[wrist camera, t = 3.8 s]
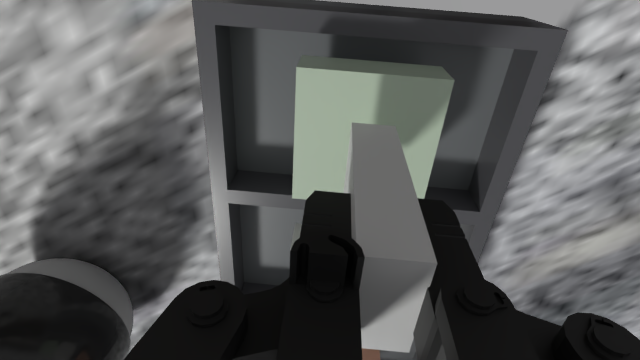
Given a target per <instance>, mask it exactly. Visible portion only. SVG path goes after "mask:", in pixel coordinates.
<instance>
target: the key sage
mask: <svg viewBox="0 0 640 360" xmlns="http://www.w3.org/2000/svg"><path fill="white" fill-rule="evenodd" d="M454 81H455V80H454V79H453V78H452V77H451V76H450V75H449V74H448V73H447V72H446V71H445V69H444V68H443V67H442V66H430V65H418V64H406V63H393V62H381V61H369V60H357V59H344V58H332V57H320V56H308V55H302V56H301V58H300V60H299V62H298V65H297V67H296V92H295V123H294V154H293V185H292V198H294V199H306V200H307V198H308V197H309V196H310V195H311V194H312V193H313V192H314V191H315V190H316V191H327V192H338V193H344V182H345V174H346V165H347V157H348V149H349V140H350V132H351V123H364V124H376V125H388V126H396V129H397V133H398V136H399V139H400V142H401V146H402V149H403V152H404V156H405V159H406V162H407V165H408V169H409V172H410V175H411V178H412V182H413V185H414V188H415V192H416V195H417V198H421V199H424V197H425V194H426V190H427V186H428V182H429V178H430V174H431V170H432V166H433V162H434V158H435V155H436V151H437V147H438V143H439V139H440V135H441V131H442V127H443V123H444V119H445V116H446V112H447V108H448V104H449V100H450V96H451V92H452V88H453V84H454Z"/></svg>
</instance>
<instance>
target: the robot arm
mask: <svg viewBox="0 0 640 360" xmlns="http://www.w3.org/2000/svg"><path fill="white" fill-rule="evenodd" d="M413 339H414V341H415V347H416V352H417V360H640V340H639V339H638V338H637V337H635V336H634V335H633V334H632V333H630V332H629V331H628V330H627V329H625V328H624V327H622V326H620V325H618V324H617V323H615V322H613V321H611V320H609V319H607V318H604V317H601V316H598V315H595V314H592V313H576V314H573V315H570V316H568V317H567V319H566V320H565V322H564V324H563V325H562V326H559V325H556V324H553V323H551V322H548V321H545V320H542V319H539V318H536V317H533V316H530V315H527V314H525V313H522V312H520V311H518V310H516V309H515V308H514V306H513V304H512V302H511V301H510V300H509V298H508V297H507V296H506V294H505V293H504V292H503V291H501V290H500V289H499V288H498V287H496V286H495V285H494V284H492V283H490V282H488V281H486V280H484V278H483V275H482V273H481V271H480V268H479V266H478V264H477V262H476V259H475V257H474V255H473V252H472V250H471V248H470V246H469V243H468V241H467V239H465V234H464V232H463V230H462V228H460V223H459V220H458V218H457V216H456V214H455V212H454V211H453V210H452V209H451V208H450V207H449V206H448V205H447V204H446V203H445V202H444V201H443V200H432V199H421V198H417V195H416V192H415V188H414V185H413V182H412V178H411V175H410V172H409V169H408V165H407V162H406V159H405V156H404V152H403V149H402V146H401V142H400V139H399V136H398V133H397V129H396V126H388V125H376V124H364V123H351V132H350V140H349V149H348V157H347V165H346V174H345V182H344V193H338V192H327V191H316V190H315V191H314V192H313V193H312V194H311V195H310V196H309V197H308V198H307V200H306V202H305V208H304V215H303V220H302V226H301V232H300V238H299V239H297V240H296V241H295V242H294V244H293V246H292V248H291V250H290V272H289V278H288V279H287V280H285V281H284V282H283V283H282V284H280V285H278V286H276V287H274V288H272V289H269V290H265V291H262V292H256V293H250V294H245V295H244V294H243V293H242V292H241V290H240V289H239V288H238V287H237V286H235V285H233V284H231V283H229V282H225V281H217V280H211V281H205V282H199V283H197V284H195V285H193V286H191V287H188V288H186V289H185V290H184V291H183V292H181V293H180V294H179V295H178V296H177V297H176V298H175V299H174V300H173V301H172V302H171V303H170V305H169V306H168V307H167V308H166V309H165V311H164V312H163V313H162V314H161V315H160V317H159V318H158V319H157V320H156V321H155V323H154V324H153V325H152V326H151V327H150V329H149V330H148V331H147V332H146V333H145V335H144V336H143V337H142V338H141V339H140V341H139V342H138V343H137V344H136V345H135V347H134V348H133V349H132V350H131V351H130V353H129V354H128V355H127V356H126V357H125V359H124V360H362V348H365V349H375V350H385V351H396V352H406V353H409V351H410V348H411V345H412V342H413Z"/></svg>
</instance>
